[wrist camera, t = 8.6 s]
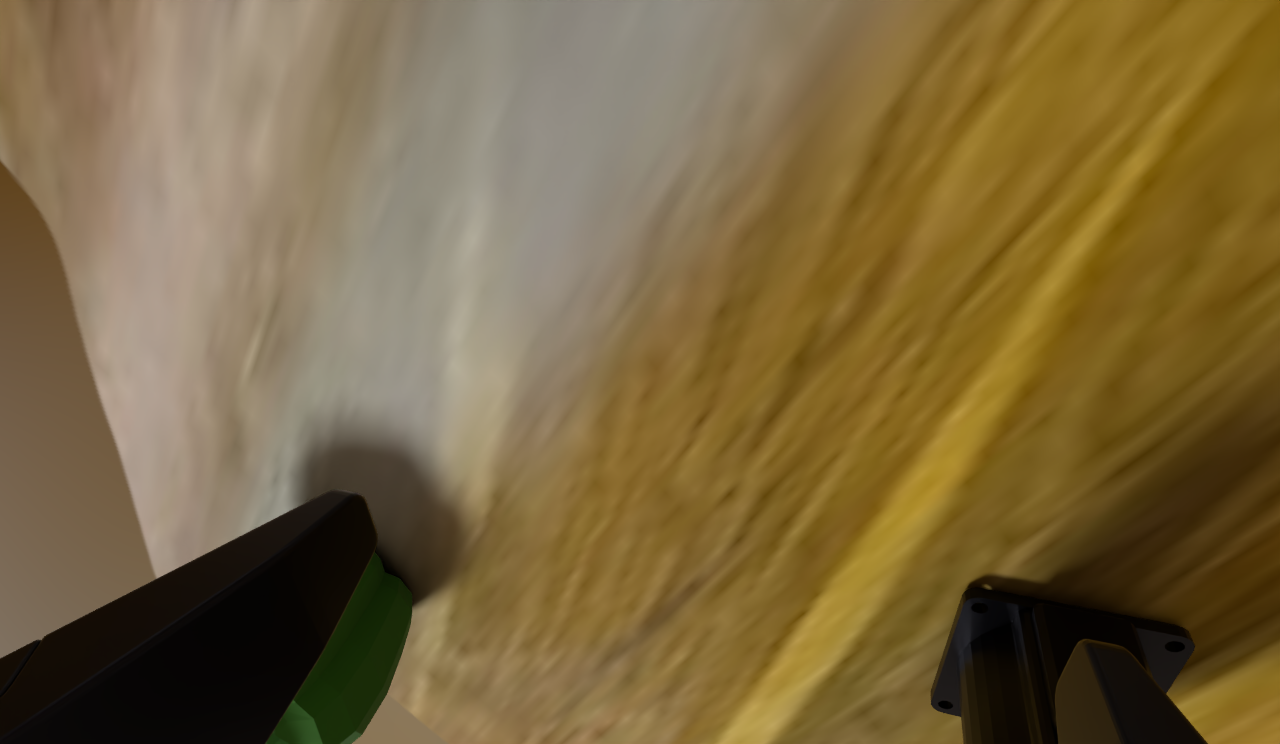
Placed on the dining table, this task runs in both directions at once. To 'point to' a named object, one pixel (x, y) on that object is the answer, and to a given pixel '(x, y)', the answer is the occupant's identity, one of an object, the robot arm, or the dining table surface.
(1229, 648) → the dining table surface
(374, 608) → the bell pepper
